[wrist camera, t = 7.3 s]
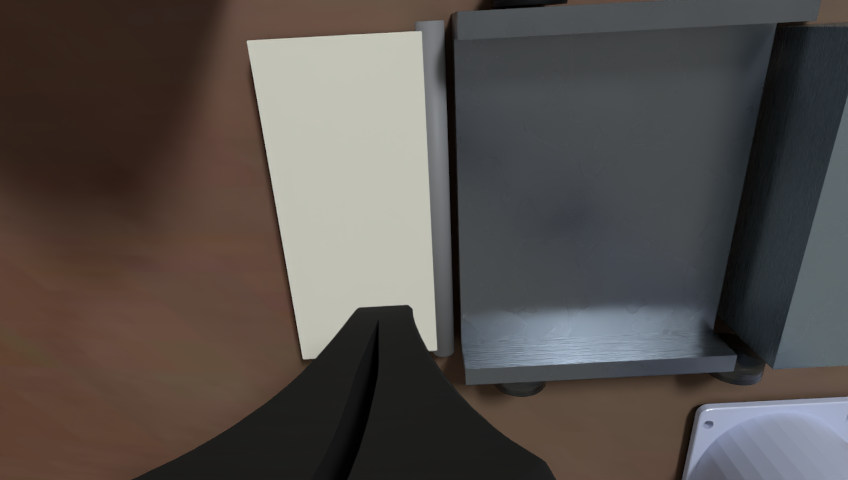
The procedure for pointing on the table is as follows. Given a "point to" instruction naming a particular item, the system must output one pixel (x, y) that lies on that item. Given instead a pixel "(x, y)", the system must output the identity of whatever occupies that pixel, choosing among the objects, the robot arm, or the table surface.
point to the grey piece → (649, 190)
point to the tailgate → (360, 176)
